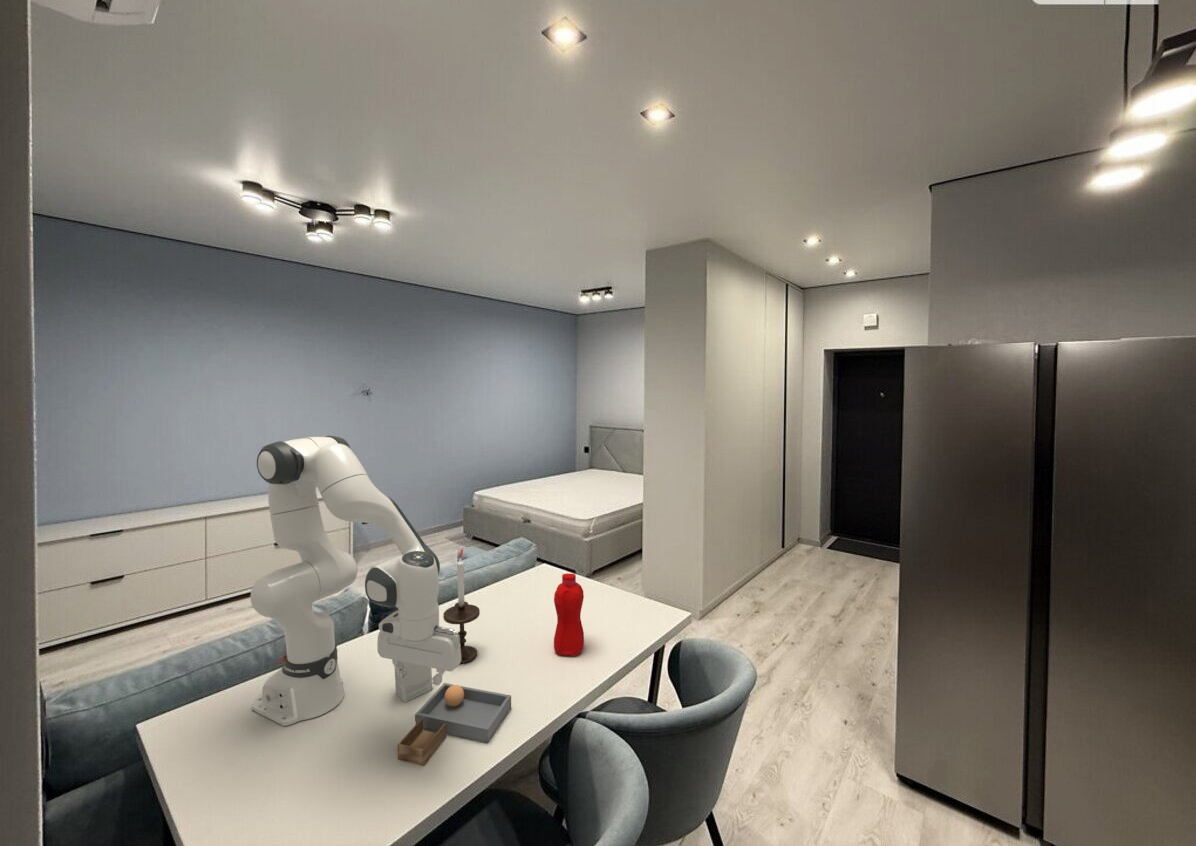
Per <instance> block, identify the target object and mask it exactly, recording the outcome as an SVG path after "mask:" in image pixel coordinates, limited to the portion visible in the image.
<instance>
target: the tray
mask: <svg viewBox="0 0 1196 846" xmlns="http://www.w3.org/2000/svg"><path fill="white" fill-rule="evenodd" d="M453 685H454V684H453V683H446V682H444V683H443V684H442V685H441V686H440V687H439V688H438V689H437V690H436V691H435V692H434V693H433V695H432V696H431V697H430V698H428V699H427V701H426V702H425V703H424V704H423V705H422V706H421V707H420V708H419V710H417V712H416V713H414V718H415V719H414V721H415V722H414V724H415V725H416V724H417V723H418V722H419V721H420V720H421V719H423V730H424V731H429V732H433V733H437V732H438V731H439V729H440V728H441V727H442V726H443V724H444V723H445V724H446V735H449V736H453V737H459V738H462V739H463V738H464V739H467V740H471V741H477V742H481V743H486V744H489V742H490V741H491V739H492V738H493V736H494V735H495V733H496V731H497V730H498V729H499V727H500V725H502V723H503V722H504V720H505V718H506V717H507V716H508V714H509V712H510V711H511V709H512V695H511V694H506V693H500V692H496V691H489V690H484V689H477V688H472V687H470V686H469V687H468V686H463V685H459V686H460V687H462V689H463V691H464V698H463V700H462V702H461V703H460V704H459V705H457V706H454V707H452V706H449V705H448V704H447V703H446V702H445V692H446V691H447V689H448V688H449V687H450V686H453ZM415 725H414V726H415Z"/></svg>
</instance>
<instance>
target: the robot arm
mask: <svg viewBox="0 0 1196 846" xmlns="http://www.w3.org/2000/svg"><path fill="white" fill-rule="evenodd" d="M360 461H361V460H359V458H358V457H357V456H356V454H355V453H354V452H353V450H352V449H351V447H350V445H349V442H348V441H346V439H344V438H342V437H339V436H336V435H335V436H334V435H325V436H306V437H302V438H294V439H290V440H289V439H288V440H285V441H283V440H281V441H280V440H278V441H275V442H274V441H273V442H272V443H268V444H265V445H264V446H262V448H261V449H260V451H259V453H258V454H257V457H256V468H257V471H258V472H257V473H258V474H259V476H260V477H261V478H262V479H263V481H265V482H266V483H267V484H268V488H267V489H268V492H267V495H268V497H267V498H268V508H269V509H268V510H269V516H270V521H271V522H270V523H271V526H272V531H273V532H272V533H273V537H274V542H275V543H276V544H277V545H278V546H279V547H280V548H282V549H285V550H289V551H296V552H297V553H298V555H299V556H300V559H301V562H297V563H295V564H291V565H289V566H286V567H282V568H279V569H277V570H274V571H272V572H271V573H270V572H269V573H268V574H266V575H265V576H263V577H260V578H258V579H257V580H256V581H255V582H254V584H253V586H252V588H251V591H250V603H251V606H252V608H253V610H254V611H255V612H257V613H258V614H259V615H260V616H263V617H265V618H269V619H272V620H274V621H275V622H276V623H278V624H279V626H280V628H282V631H283V634H284V639H285V640H284V641H285V646H286V654H285V655H283V656H282V657H280V658H279V659H278V661H279V662H278V663H279V664H280V663H283V664H282V667H281V668H279V669H278V670H277V671H276V672H274V673H273V674H272V675H271V676H270V677H268V678H267V680H265V682H264V684H263V687H262V693H261V695H259V696H258V697H257V698H256V699H255V700H254V701H253V702H252V705H251V710H252V711H253V710H254V712H255V713H257V714H259V715H261V716H263V717H265V718H267V719H269V720H271V721H272V722H275V723H277V724H279V725H280V726H283V727H287V726H290V725H293V724H295V723H297V722H301V721H305V720H310V719H314V718H316V717H319V716H322V715H324V714H326V713H328V712H329V711H331V710H333V709H334V708H336V707H337V706H338V705H339V704H340V703H341V702H342V701H343V699H344V697H345V691H344V688H343V684H344V682H343V681H344V680H343V678H342V677H341V673H340V669H339V663H338V662H339V661H338V658H339V657H338V647H337V644H336V643H335V642H336V641H335V640H336V639H335V621H334V620H333V618H332V617H331V616H330V615H329V614H327V613H326V612H323V611H314V610H313V604H314V603H315V602H318V601H319V600H320V601H321V600H323V599H325V598H328V597H330V596H332V595H333V596H334V595H335V594H338V593H340V592H342V591H343V590H344V589H346V588H347V587H349V586H350V585H352V584H353V583H354V582H355V581H356V578H357V575H358V564H357V561H356V559H355V558H354V557H353V556H352V555H351V554H350V553H348V552H346V551H344V550H341V549H340V548H339V547H337V546H335V544H334V543H333V542H332V541H331V540H330V538H329V537H328V534H327V533H326V530H325V527H324V523H323V519H322V515H321V509H320V504H319V497H318V495H317V489H318V492H319V494H320V495H321V498H322V500H323V503H324V504H325V507H326V509H327V510H328V512H330V514H331V515H333V516H334V517H335V518H337V519H339V520H341V521H345V522H349V523H350V522H351V523H365V524H366V523H367V524H372V525H376V526H377V527H380V528H382V529H383V530H384V531H385V532H386V533H387V534H388V536H389V537H390V539H391V540H392V541H393V543H394V544H395V546H396V548H397V549H398V550H399V552H400V553H401V555H399V556H397V557H395V558H394V557H393V558H392V559H389V560H386V561H384V562H381V563H379V564H376V565H374V567H373V566H372V567H371V568H370V569H369V570H368V572H367V574H366V576H365V580H364V589H365V594H366V597H367V599H368V600H369V601H370V602H371V603H374V605H378V606H381V607H386V608H394V607H396V608H397V609H398V610H396V611H393V612H392V613H390V614H389V615H388V616H386V617H385V618H383V619H382V620H381V621H380V622H379V623H378V630H379V632H378V635H377V642H376V643H377V644H376V645H377V647H376V648H377V654H378V656H379V657H381V658H383V659H388V660H391V661H392V665H393V666H394V669H395V668H396V670H397V676H398V677H402V678H403V677H404V676H406V674H407V667H405V666H404V665H403V662H407V663H411V664H416V665H421V666H426V667H431V669H436V673H435V675H433V676H432V685H435V686H440V685H441V684H442V682H443V675H444V674H445V672H451V673H452V672H453V671H454V670H455V669H456V668H457V667H458V666H460V665H459V664H460V662H461V649H460V637H459V635H458V632H456V631H455V629H453V628H450V627H449V628H447V627H444V626H440V605H439V603H438V596H439V592H440V578H439V576H440V572H441V564H440V560H439V558H438V556H437V555H436V553H435V552H434V551H433V550H432V549H431V548H430V547H429V546H428V545H427V544H426V543H425V542H424V540H423V539H422V538H421V535H419V533H418V532H417V531H416V529H415V528H414V525H412V523H411V522H410V521H409V519H408V518H407V516H406V515H405V514H404V512H403V511H402V509H401V508H400V506H399V505H398V504H397V503H396V502H395V501H394V499H392V498H391V497H390V496H388V495H385V494H384V493H383V492H381V491H380V490H379V489H378V488H377V486H375V485H374V483H373V482H372V481H371V479H370V477H369V475H368V473H367V472H366V469H365V468H364V466H363V464H362V463H361V462H360ZM316 488H317V489H316Z"/></svg>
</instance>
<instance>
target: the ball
mask: <svg viewBox="0 0 1196 846" xmlns="http://www.w3.org/2000/svg"><path fill="white" fill-rule="evenodd" d="M460 686H461V685H458V684H453V686H450V687H449V688H448V689H447V691H446V692H445V702H446V703H447V704H448V705H449V706H452V707H454V706H457V705H459V704H460V703H461V702H462V700H463V698H464V691H463V689H462V687H460Z"/></svg>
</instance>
